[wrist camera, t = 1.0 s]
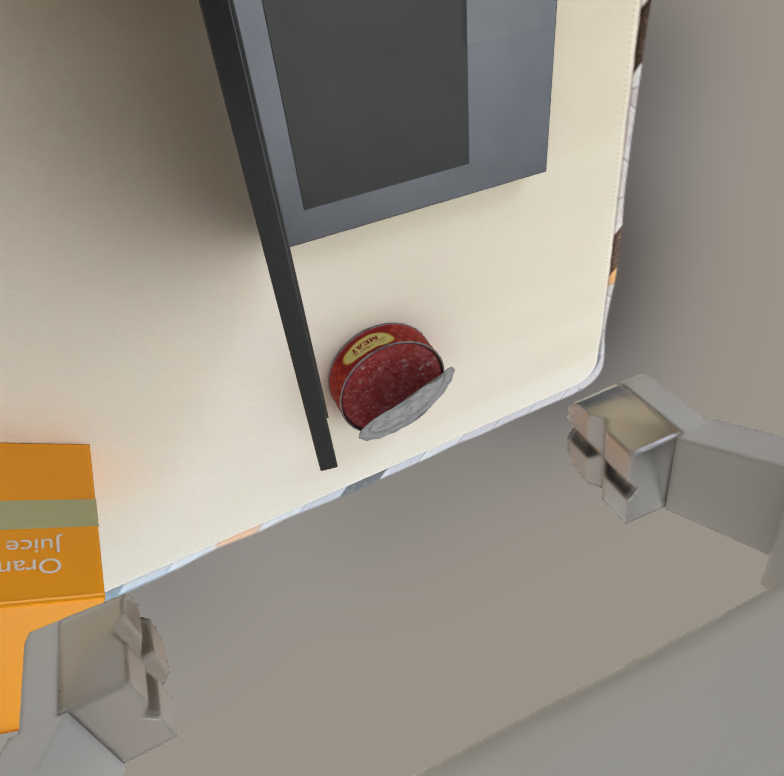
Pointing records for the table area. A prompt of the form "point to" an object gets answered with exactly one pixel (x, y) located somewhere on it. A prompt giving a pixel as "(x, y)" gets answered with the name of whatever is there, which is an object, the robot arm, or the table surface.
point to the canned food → (387, 379)
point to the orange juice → (43, 551)
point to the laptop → (396, 102)
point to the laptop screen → (267, 211)
